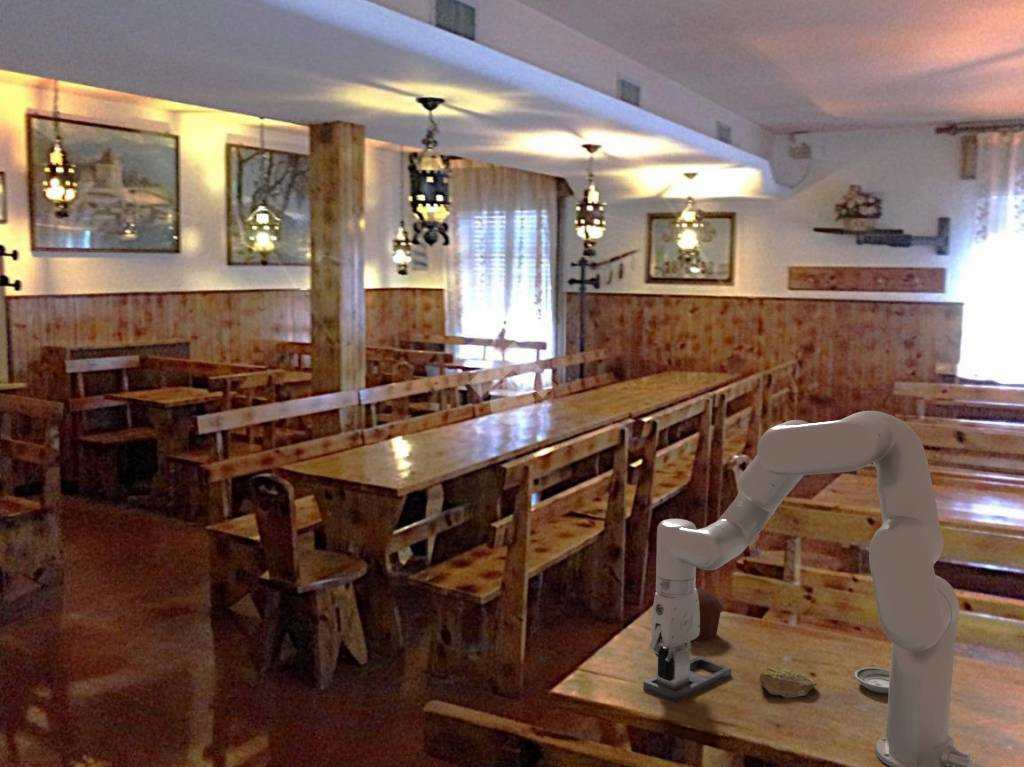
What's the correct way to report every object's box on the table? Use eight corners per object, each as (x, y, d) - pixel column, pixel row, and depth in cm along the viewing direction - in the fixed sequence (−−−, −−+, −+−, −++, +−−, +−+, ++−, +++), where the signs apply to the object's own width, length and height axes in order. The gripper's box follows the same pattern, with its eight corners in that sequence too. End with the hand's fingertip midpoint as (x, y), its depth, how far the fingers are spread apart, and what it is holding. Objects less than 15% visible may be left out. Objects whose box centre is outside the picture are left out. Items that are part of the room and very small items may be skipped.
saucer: (917, 693, 187) (918, 681, 186) (881, 703, 182) (882, 691, 182) (878, 674, 195) (879, 663, 195) (843, 683, 191) (843, 672, 190)
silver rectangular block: (689, 685, 187) (690, 646, 186) (675, 692, 184) (676, 652, 183) (670, 678, 190) (671, 639, 189) (656, 685, 187) (657, 645, 186)
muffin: (711, 648, 208) (712, 603, 207) (663, 637, 214) (664, 594, 212) (729, 630, 218) (730, 588, 217) (683, 621, 224) (684, 579, 222)
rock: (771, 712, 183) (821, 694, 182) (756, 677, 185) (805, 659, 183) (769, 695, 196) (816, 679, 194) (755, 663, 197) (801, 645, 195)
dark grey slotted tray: (731, 675, 194) (731, 668, 194) (676, 702, 182) (676, 695, 181) (698, 663, 200) (698, 656, 199) (643, 688, 187) (643, 681, 187)
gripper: (663, 599, 176) (661, 694, 178) (717, 579, 188) (714, 668, 190) (632, 589, 182) (630, 681, 184) (686, 570, 193) (684, 657, 195)
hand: (673, 673), depth 187 cm, fingers closed on silver rectangular block, 4 cm apart
